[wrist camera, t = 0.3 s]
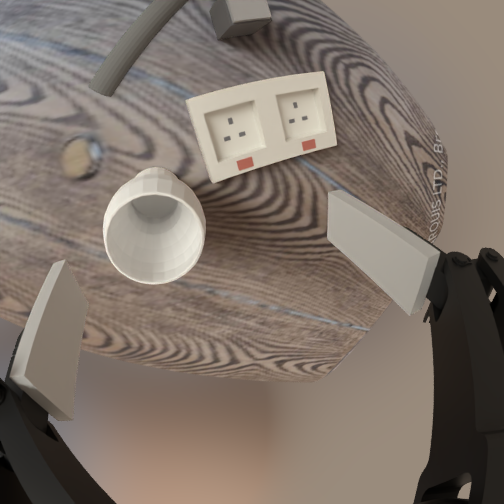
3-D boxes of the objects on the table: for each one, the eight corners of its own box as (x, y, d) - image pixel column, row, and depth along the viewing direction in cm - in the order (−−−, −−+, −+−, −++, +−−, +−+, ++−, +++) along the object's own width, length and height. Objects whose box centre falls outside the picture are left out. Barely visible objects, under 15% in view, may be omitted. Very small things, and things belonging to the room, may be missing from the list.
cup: (186, 150, 34) (202, 174, 22) (196, 220, 40) (217, 276, 28) (112, 166, 32) (84, 201, 20) (128, 234, 37) (118, 298, 25)
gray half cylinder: (87, 87, 26) (84, 86, 24) (174, -19, 21) (175, -25, 19) (111, 98, 28) (109, 98, 26) (198, -8, 23) (200, -13, 21)
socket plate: (185, 100, 31) (186, 99, 29) (316, 72, 34) (324, 71, 32) (210, 179, 38) (213, 183, 36) (329, 142, 40) (337, 145, 38)
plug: (209, 11, 25) (222, -10, 18) (243, 6, 25) (264, -14, 19) (217, 40, 28) (232, 23, 21) (252, 34, 28) (274, 19, 22)
